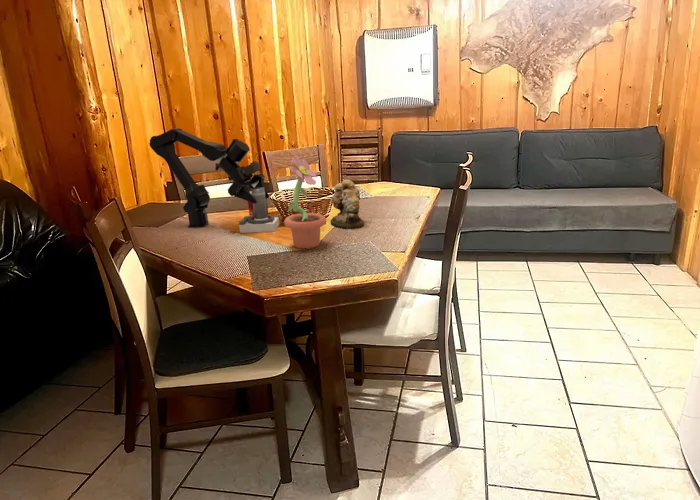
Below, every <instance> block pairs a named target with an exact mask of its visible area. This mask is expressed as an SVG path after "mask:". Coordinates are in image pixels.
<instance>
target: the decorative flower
mask: <svg viewBox="0 0 700 500" xmlns="http://www.w3.org/2000/svg"><path fill="white" fill-rule="evenodd" d="M291 158H292V159H291V161H290V162H291V163H292V164H293V165H294V166H289V170H290V171H291V173H292V174H295V175H297V181H296V184H295V187H294V191H293V192H294V193H293V200H292V201H293V202H292V203H290V204H289V205H288V210H287V212H291V211H292V210H293V212H295V213H296V214H291V215H288V216H287V217H285V219H284V221H283V223H284V227H287V228H288V229H290V230H291V236H292V243H293V246H294V247H296V248H297V249H303V250H304V249H305V248H306V249H312V248H316V247H318V246H319V245H320V243H321V242H320V241H321V227H323V226H325V225H327V218H326V216H325V215H323V214H321V213H317V212H316V213H315V212H314V213H311V212H307V211H306V210H305V209H303V208H302V207H301V206H299V205H300V204H299V201H300V199H299V198H300V193H301V194H302V195H304V196H307V195H308V194H307V192H306V190H305V188H302V186H303V183H306V184H307V185H310V186H312V185H313V186H314V185H316V183H317V181H316V180H315V179H314V178H317V175H316V172H315V171H314V170H313V169H312V168H311V169H310V166H309V163H308V162H307V161H306V160H305V159H302V161H301V159H300V157H299V156H298V155H297V154H295V155H294V156H292V157H291Z"/></svg>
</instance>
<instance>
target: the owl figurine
mask: <svg viewBox="0 0 700 500" xmlns="http://www.w3.org/2000/svg"><path fill="white" fill-rule="evenodd" d="M334 191H335V192H334V193H333V196H332V202H331V203H332V205H333V208H334V209H337V210H338V211H339V212H338V213H336V215H334V216H332V218H331V219H330V225H331V226H332V227H334V228H337V229H341V228H342V229H341V230H347V229H348V230H353V229H355V228H356V229H359V228H362V227H364V226H365V222H364V220H363V219H362V218H361V217H359V213H360V200H361V199H362V198H361V195H360V190H359V188H358V187H357V186H356V185H355V183H354V181H352V180H350V179H344V180H342V182H339V183H337V184H336V185H334Z"/></svg>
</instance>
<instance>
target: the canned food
mask: <svg viewBox="0 0 700 500" xmlns="http://www.w3.org/2000/svg"><path fill="white" fill-rule="evenodd" d="M249 192H250V193H252V192H251V190H249ZM265 200H266V209H267V215H269V206H268V199H267V198H265ZM247 206H248V216H250V217H253V216H254V209H253V203H252V202H249V201H247Z"/></svg>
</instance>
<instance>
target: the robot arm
mask: <svg viewBox="0 0 700 500" xmlns="http://www.w3.org/2000/svg"><path fill="white" fill-rule="evenodd" d="M177 142H179V143H181V144H183V145H185V146H187V147H190V148H192V149H194V150H196V151H197V152H200V153H201V155H202V156H203V157H204V158H206V159H207V160H209V161H211V162H214V161H219V162H217V163H215V168H214V169H215V171H221V170H222V171H223V172H224V173H225V175H227V176H228V180H229V181H233V182H232V183H231V185H230V186H229V187H228V189H227V194H228V195H229V196H230V197H235V198H239V199H242V200H244V201H247V202H248V201H249V202H252V203H254V204H256V203H257V201H256V199H255V198H254V197H253V196H252V194H251V193H250V190H248V187H249V188H250V189H252V188H256V187H264V191H265V198H267V200H268V199H269V198H270V195H269V193H268V191H267V188H266V187H265V185H264V181H265V180H266V179H265V178H266V176H265V174H263V173H262V172H259V171H261V164H260V163H259V162H258V161H256V160H254V161H251V162H250V163H249V164H248V165H246V166H241V165H239V163H240V162H242V161H243V160H244V158H245V157H246V155H247V154H248V153H249V152H250V146H249V145H248V144H247V143H245V142H244V141H242V140H239V139H238V138H233V139H232V141H231V143H229V145H228V146H227V147H226V146H225V145H224V144H222V143H219V142H216V141H214V142H213V141H209V140H205V139H203V138H200V137H198V136H196V135H194V134H192V133H189V132H187V131H185V130H183V129H182V128H179V127H178V128H177V127H176V128H171V129H169V130H167V131H166V132H163V133H161V134H158V135H152V136H151V138H150V139H149V143H148V144H149V147H150V148H151V150H152V151H153V152H154V153H155V154H156V155H157V156H159V157H161V158H162V159H163V160H164V161H165V162H166V164H167V165H168V167H169V169H171V171H172V173H173V174H174V175H175V178H176V179H177V180H178V182H179V183H180V185H181V186H182V189H184V195H185V196H184V197H185V199H186V203H185V204H184V205H183V206H182V210H184V212H185V213H187V217H188V223H189V225H187V227H188V228H196V227H198V228H199V227H200V228H201V227H205V226H207V224H209V217H208V216H209V215H208V213H207V211H206V209H208V207H209V202H210V199H211V196H210V192H209V190H207V188H206V186H205V185H204V184H200V185H199V184H198V183H196V181H195V180H194V178H193V177H192V175H191V174H190V172H189V171H188V170H187V168H186V166H185V165H184V163H183V162H182V161H181V159H180V157H179V156H178V154H177V153H176V146H175V143H177ZM257 172H258V173H257ZM255 173H256V174H255Z"/></svg>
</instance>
